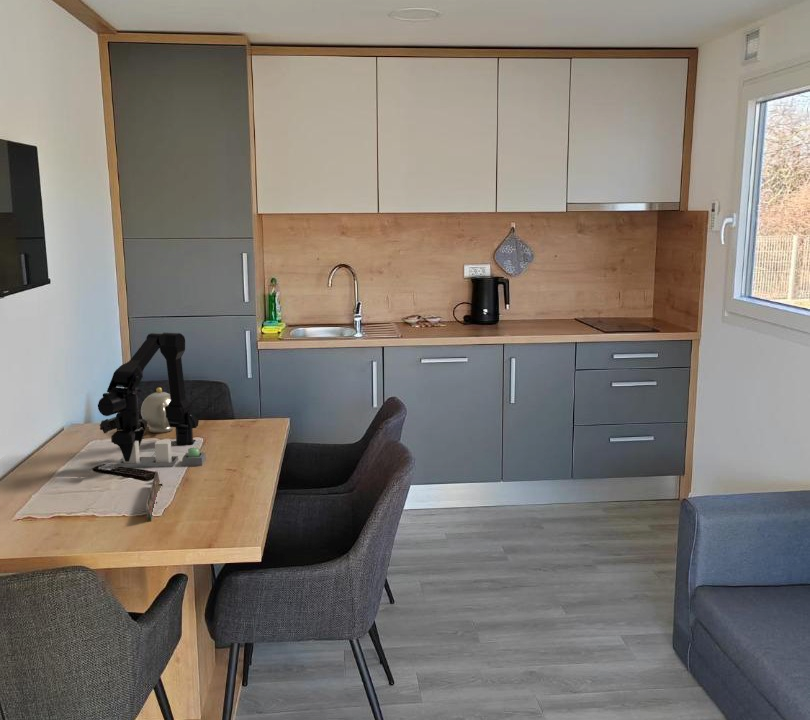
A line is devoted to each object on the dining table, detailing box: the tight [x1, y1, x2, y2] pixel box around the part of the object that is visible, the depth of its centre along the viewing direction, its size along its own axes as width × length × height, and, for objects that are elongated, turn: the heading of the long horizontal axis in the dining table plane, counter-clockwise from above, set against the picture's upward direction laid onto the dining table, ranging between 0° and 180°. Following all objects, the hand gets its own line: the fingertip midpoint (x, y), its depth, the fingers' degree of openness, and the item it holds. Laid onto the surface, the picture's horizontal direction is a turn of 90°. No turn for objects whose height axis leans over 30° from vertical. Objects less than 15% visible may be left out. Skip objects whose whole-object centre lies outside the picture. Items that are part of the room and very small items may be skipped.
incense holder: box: [145, 470, 163, 522], centre depth 221 cm, size 30×1×5 cm, turn 12°
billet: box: [122, 441, 141, 463], centre depth 252 cm, size 4×4×7 cm
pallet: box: [116, 455, 179, 469], centre depth 253 cm, size 8×17×2 cm, turn 93°
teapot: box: [140, 387, 175, 434], centre depth 294 cm, size 18×14×16 cm
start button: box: [187, 447, 200, 457], centre depth 253 cm, size 3×3×3 cm
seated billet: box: [154, 439, 173, 463], centre depth 252 cm, size 4×4×7 cm
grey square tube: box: [181, 452, 207, 467], centre depth 253 cm, size 6×6×4 cm
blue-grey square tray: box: [119, 449, 155, 461], centre depth 262 cm, size 10×10×1 cm
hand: (131, 457), depth 252 cm, fingers open, 9 cm apart
